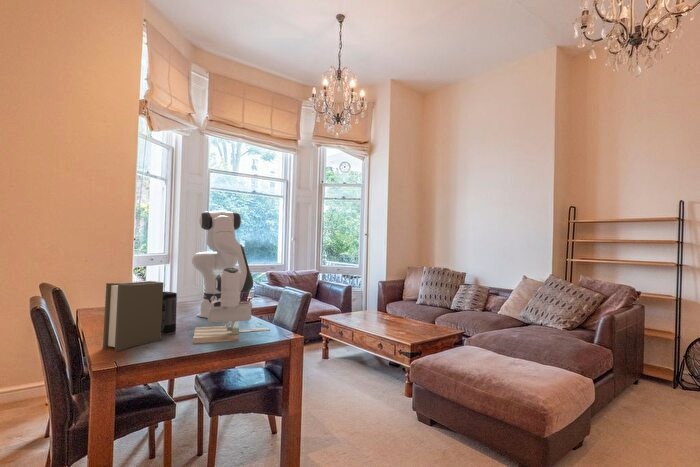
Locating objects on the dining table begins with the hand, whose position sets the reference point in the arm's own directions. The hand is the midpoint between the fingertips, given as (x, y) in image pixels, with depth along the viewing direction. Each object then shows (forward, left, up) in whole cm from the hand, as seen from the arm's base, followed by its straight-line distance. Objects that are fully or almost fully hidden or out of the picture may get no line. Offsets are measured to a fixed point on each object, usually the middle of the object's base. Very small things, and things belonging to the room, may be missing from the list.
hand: (229, 330), depth 183 cm
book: (-1, -41, -4) cm, 41 cm away
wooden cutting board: (-5, +2, -4) cm, 6 cm away
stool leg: (-5, +3, -1) cm, 5 cm away
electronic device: (-18, -30, -4) cm, 35 cm away
